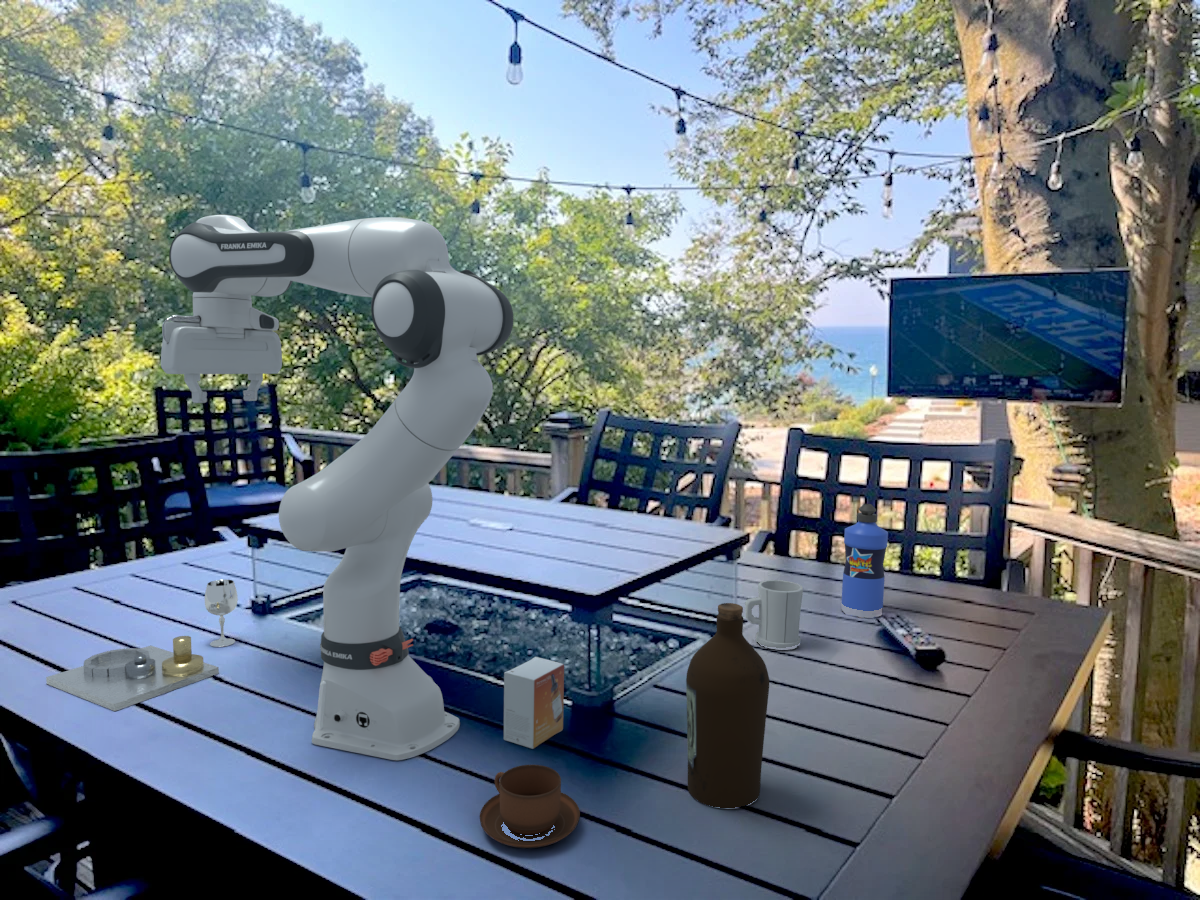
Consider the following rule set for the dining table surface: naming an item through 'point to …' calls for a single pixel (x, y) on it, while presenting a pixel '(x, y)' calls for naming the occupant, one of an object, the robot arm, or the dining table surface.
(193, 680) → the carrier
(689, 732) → the olive oil
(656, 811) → the dining table surface
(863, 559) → the water bottle
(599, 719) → the dining table surface
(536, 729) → the small box
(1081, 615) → the dining table surface
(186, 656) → the brass flanged cylinder
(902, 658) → the dining table surface
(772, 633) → the cup
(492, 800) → the cup and saucer
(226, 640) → the wineglass
